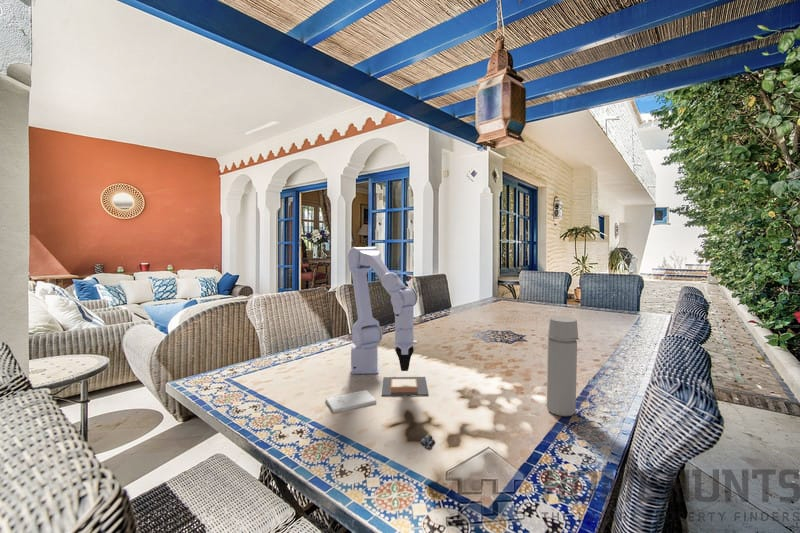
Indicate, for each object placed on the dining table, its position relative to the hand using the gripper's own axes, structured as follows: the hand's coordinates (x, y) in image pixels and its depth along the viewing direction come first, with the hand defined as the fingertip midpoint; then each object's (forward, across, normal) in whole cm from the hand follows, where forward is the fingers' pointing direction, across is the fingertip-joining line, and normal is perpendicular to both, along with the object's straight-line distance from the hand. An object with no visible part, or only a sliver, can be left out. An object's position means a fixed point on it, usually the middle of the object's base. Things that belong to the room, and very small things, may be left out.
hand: (404, 370), depth 113 cm
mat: (+6, +1, 0) cm, 6 cm away
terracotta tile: (+4, +2, 0) cm, 5 cm away
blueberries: (+6, -31, -5) cm, 32 cm away
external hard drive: (+6, -10, +16) cm, 20 cm away
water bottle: (+6, -16, -42) cm, 45 cm away
